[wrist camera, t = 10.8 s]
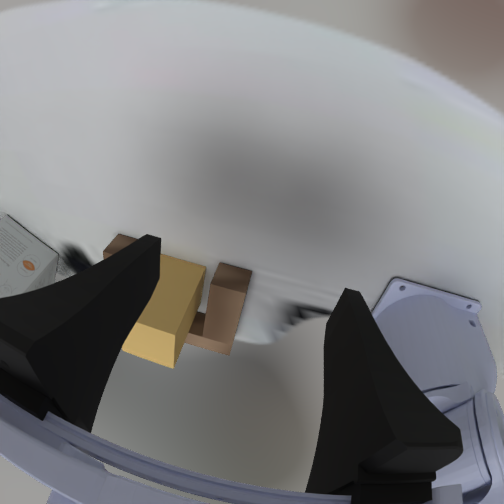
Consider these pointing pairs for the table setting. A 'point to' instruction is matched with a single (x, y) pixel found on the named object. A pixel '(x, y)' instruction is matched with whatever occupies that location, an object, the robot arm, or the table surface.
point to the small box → (23, 260)
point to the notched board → (210, 304)
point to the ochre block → (168, 313)
